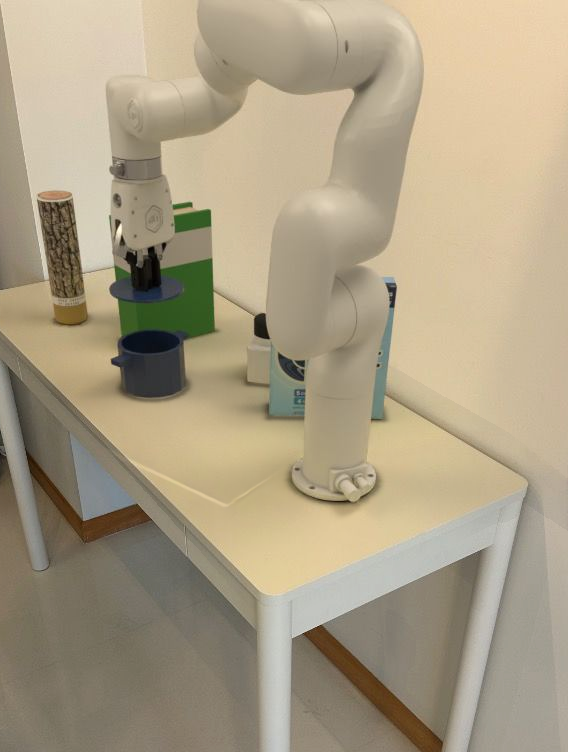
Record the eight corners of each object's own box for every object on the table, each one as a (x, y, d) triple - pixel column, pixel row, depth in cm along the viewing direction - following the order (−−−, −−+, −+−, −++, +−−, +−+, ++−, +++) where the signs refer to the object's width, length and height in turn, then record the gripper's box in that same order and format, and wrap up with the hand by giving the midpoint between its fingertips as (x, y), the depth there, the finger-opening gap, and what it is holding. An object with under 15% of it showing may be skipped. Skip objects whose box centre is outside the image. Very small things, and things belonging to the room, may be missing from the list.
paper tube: (94, 318, 171) (79, 193, 156) (72, 328, 166) (54, 201, 152) (71, 311, 174) (54, 188, 159) (48, 321, 169) (28, 195, 155)
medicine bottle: (285, 388, 146) (286, 324, 138) (246, 384, 147) (246, 320, 139) (292, 371, 151) (294, 309, 144) (255, 368, 152) (255, 306, 145)
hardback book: (195, 320, 171) (189, 201, 157) (214, 331, 166) (210, 209, 152) (121, 338, 162) (108, 215, 148) (140, 351, 158) (128, 224, 143)
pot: (208, 379, 148) (207, 335, 143) (143, 412, 137) (138, 366, 132) (164, 362, 154) (161, 320, 148) (97, 393, 143) (92, 347, 138)
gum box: (269, 418, 136) (270, 284, 123) (269, 404, 140) (271, 273, 127) (383, 420, 136) (397, 286, 123) (380, 406, 140) (394, 275, 127)
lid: (199, 292, 136) (198, 255, 132) (146, 312, 128) (143, 274, 125) (147, 276, 142) (144, 240, 138) (94, 294, 134) (89, 257, 131)
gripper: (115, 181, 116) (127, 305, 127) (191, 163, 127) (196, 279, 138) (81, 173, 120) (95, 294, 131) (157, 156, 130) (164, 269, 141)
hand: (146, 285), depth 134 cm, fingers closed on lid, 2 cm apart
